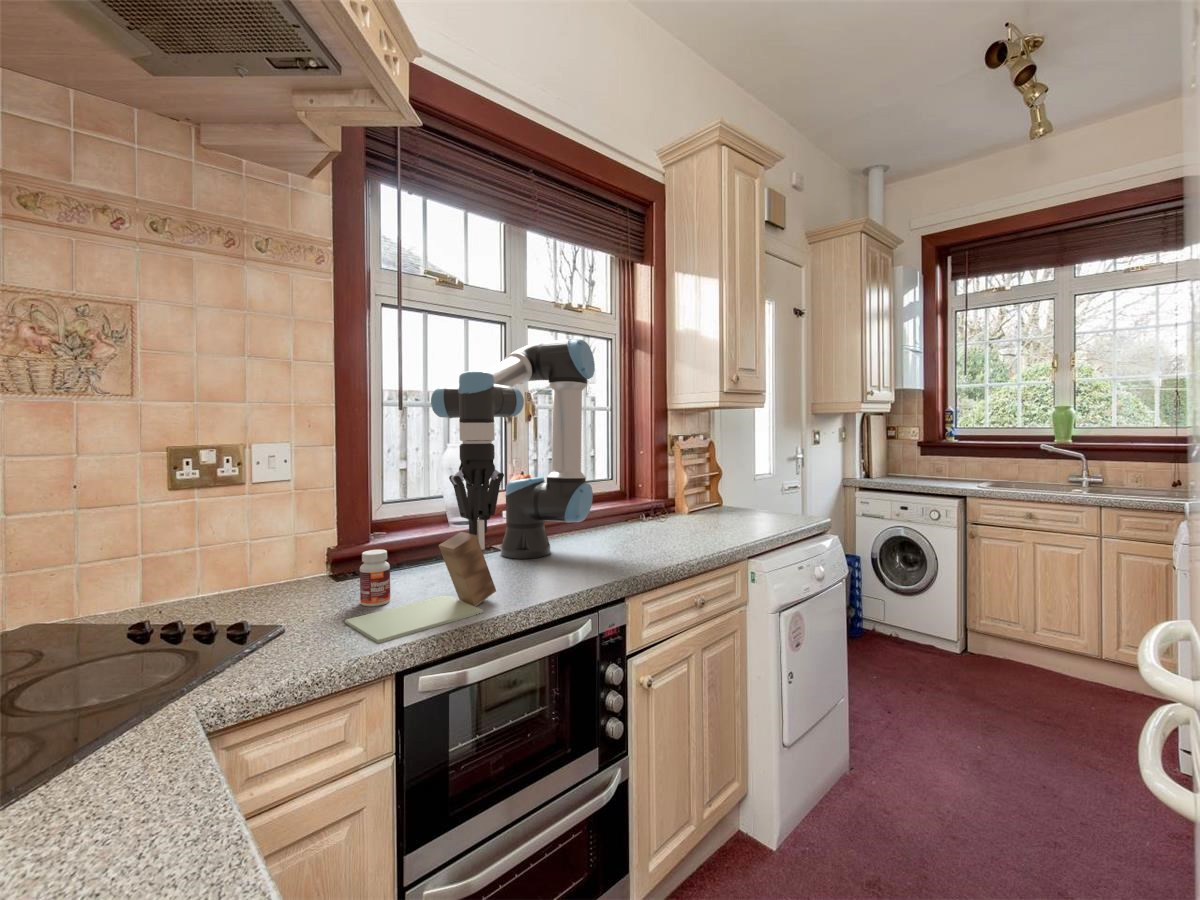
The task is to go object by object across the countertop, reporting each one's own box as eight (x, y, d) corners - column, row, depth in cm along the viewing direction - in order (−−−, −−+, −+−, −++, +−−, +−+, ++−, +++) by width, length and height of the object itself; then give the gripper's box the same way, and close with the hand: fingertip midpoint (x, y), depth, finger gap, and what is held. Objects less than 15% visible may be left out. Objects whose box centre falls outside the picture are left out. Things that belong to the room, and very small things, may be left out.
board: (445, 597, 123) (445, 594, 123) (482, 612, 112) (482, 609, 112) (345, 622, 107) (345, 619, 107) (378, 643, 97) (378, 639, 97)
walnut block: (481, 586, 124) (461, 531, 120) (496, 591, 120) (476, 535, 116) (459, 600, 120) (438, 545, 116) (475, 606, 116) (453, 549, 112)
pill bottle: (372, 609, 115) (371, 556, 115) (354, 604, 118) (353, 553, 118) (396, 601, 121) (395, 550, 120) (378, 597, 124) (377, 547, 123)
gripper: (491, 441, 127) (492, 542, 127) (441, 442, 117) (443, 551, 118) (511, 442, 121) (512, 546, 122) (460, 443, 112) (461, 556, 113)
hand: (478, 548), depth 120 cm, fingers closed
